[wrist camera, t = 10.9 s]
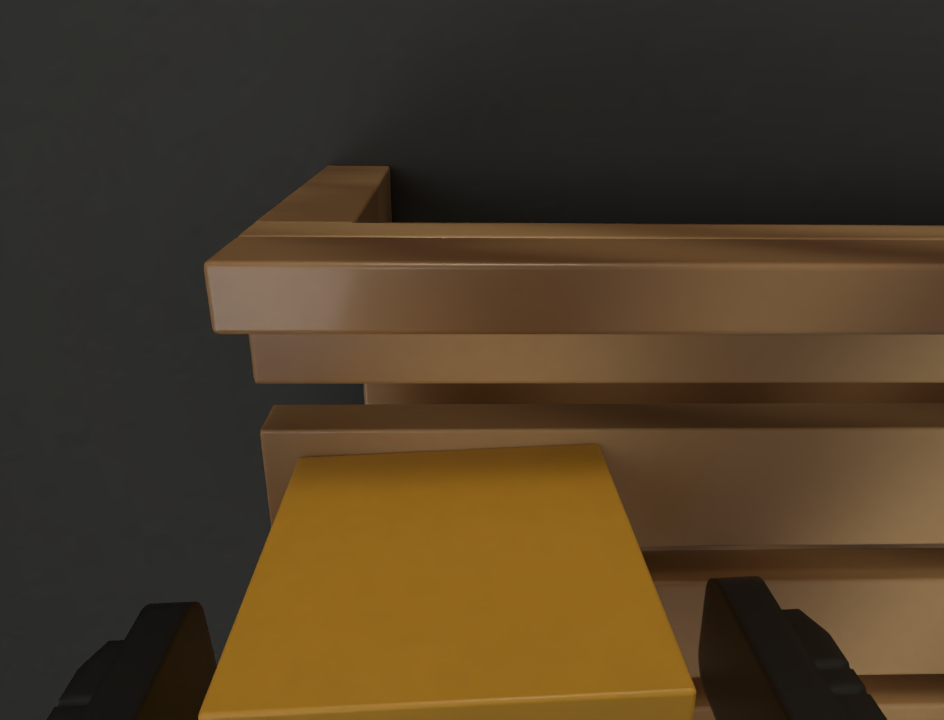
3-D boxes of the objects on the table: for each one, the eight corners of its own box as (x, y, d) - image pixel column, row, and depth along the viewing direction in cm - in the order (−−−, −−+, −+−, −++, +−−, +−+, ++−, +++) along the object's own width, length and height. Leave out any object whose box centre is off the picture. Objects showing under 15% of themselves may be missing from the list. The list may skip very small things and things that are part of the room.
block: (297, 456, 11) (195, 716, 7) (599, 442, 11) (699, 691, 7) (332, 679, 13) (270, 1002, 9) (589, 667, 13) (663, 980, 9)
